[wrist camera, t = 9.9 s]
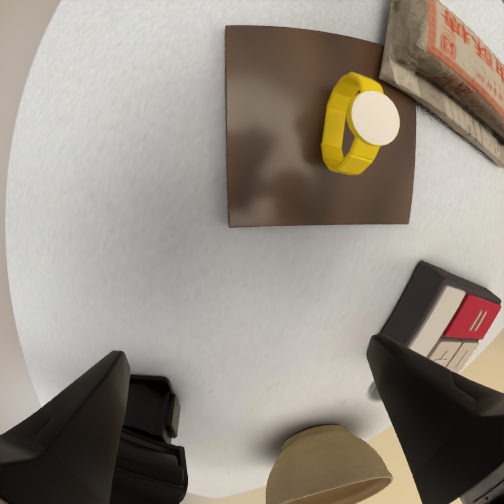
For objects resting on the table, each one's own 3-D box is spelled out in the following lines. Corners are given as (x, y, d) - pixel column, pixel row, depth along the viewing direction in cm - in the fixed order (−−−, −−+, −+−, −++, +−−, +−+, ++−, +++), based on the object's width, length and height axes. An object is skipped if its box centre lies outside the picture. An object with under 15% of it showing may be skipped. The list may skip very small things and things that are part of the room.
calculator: (459, 376, 25) (384, 384, 21) (442, 356, 29) (365, 355, 25) (506, 303, 21) (450, 282, 18) (484, 286, 25) (420, 259, 21)
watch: (344, 172, 18) (389, 187, 12) (305, 164, 17) (340, 175, 12) (357, 91, 15) (406, 76, 10) (319, 79, 15) (358, 56, 10)
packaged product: (416, 69, 10) (421, -32, 7) (373, 81, 15) (387, -11, 12) (533, 179, 14) (538, 93, 11) (499, 169, 19) (507, 91, 15)
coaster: (228, 224, 19) (228, 228, 18) (225, 29, 14) (225, 25, 13) (403, 221, 20) (408, 224, 19) (406, 56, 15) (412, 54, 14)
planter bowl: (284, 406, 27) (302, 490, 17) (388, 406, 30) (418, 466, 20) (242, 461, 33) (247, 521, 23) (332, 460, 36) (347, 510, 26)
